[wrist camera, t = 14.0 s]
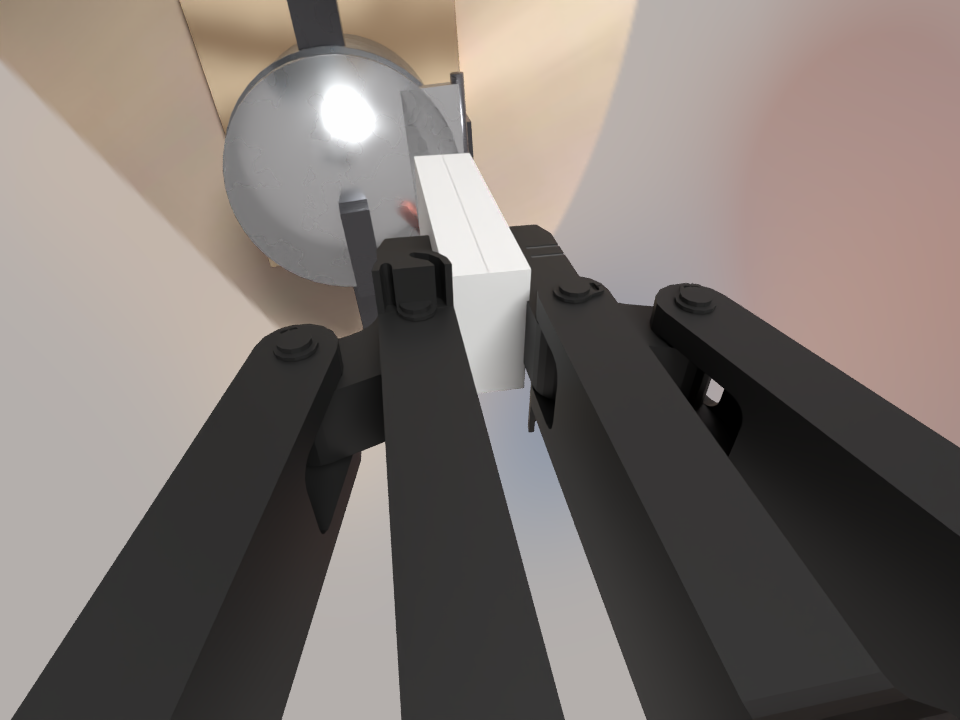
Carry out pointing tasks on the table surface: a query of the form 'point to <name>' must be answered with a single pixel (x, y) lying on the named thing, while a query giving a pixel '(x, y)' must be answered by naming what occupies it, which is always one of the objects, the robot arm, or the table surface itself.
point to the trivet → (269, 32)
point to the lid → (336, 161)
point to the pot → (324, 34)
